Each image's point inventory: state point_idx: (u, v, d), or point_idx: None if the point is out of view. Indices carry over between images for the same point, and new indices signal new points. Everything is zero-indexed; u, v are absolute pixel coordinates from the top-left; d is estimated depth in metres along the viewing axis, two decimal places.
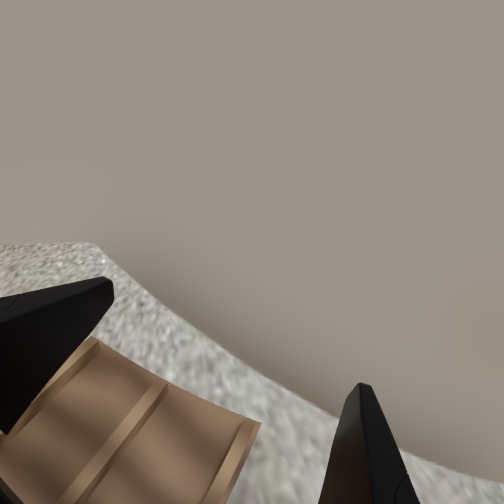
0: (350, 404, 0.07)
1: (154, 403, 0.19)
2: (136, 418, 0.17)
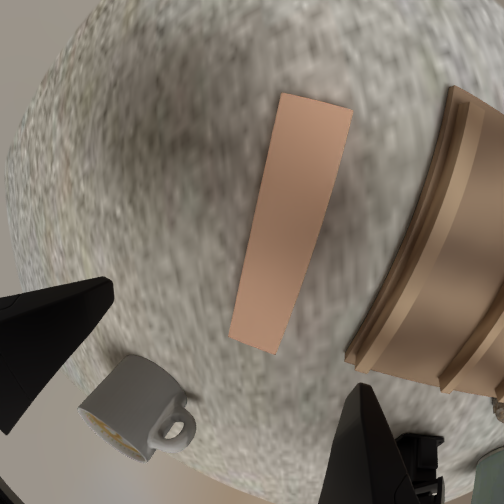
0: (350, 404, 0.07)
1: None
2: None
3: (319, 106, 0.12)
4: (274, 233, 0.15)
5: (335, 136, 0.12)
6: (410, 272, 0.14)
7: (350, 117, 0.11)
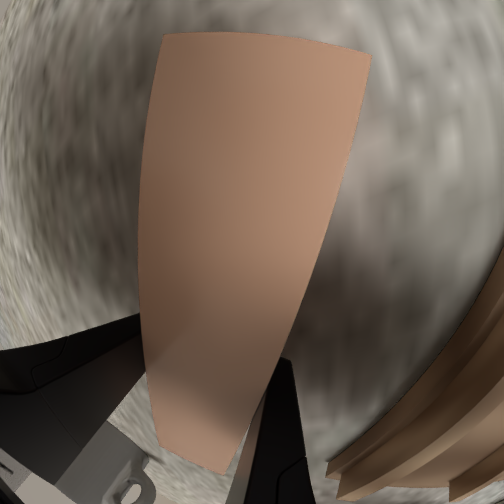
0: None
1: None
2: None
3: (261, 47, 0.03)
4: (181, 359, 0.07)
5: (314, 138, 0.04)
6: (448, 419, 0.05)
7: (363, 76, 0.03)
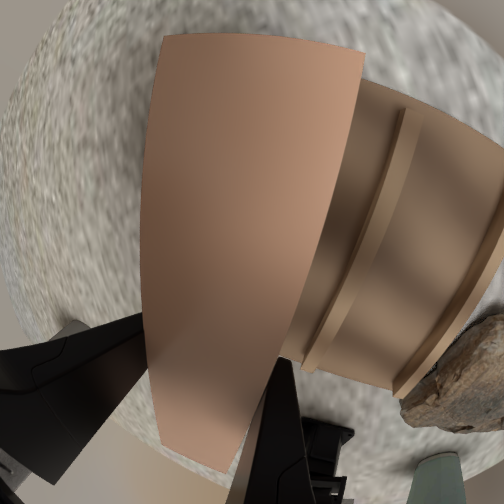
0: (269, 378, 0.07)
1: None
2: (394, 195, 0.12)
3: (259, 47, 0.04)
4: (183, 355, 0.07)
5: (310, 133, 0.04)
6: None
7: (357, 73, 0.03)
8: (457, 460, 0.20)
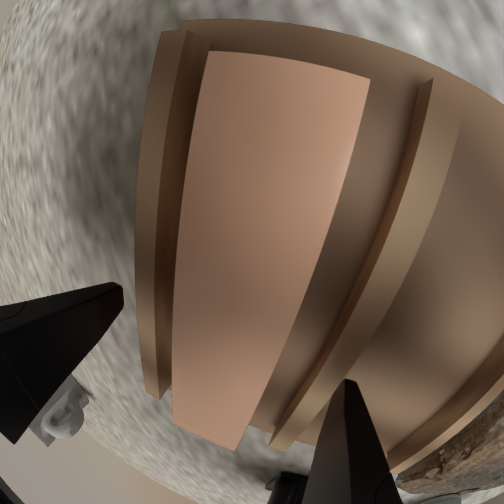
0: (335, 400, 0.07)
1: None
2: (412, 243, 0.07)
3: (290, 70, 0.05)
4: (209, 324, 0.08)
5: (327, 139, 0.05)
6: None
7: (363, 95, 0.05)
8: (458, 501, 0.14)
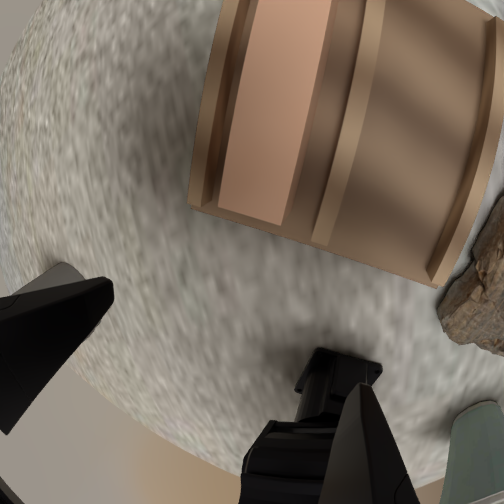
0: (350, 404, 0.07)
1: None
2: (378, 19, 0.09)
3: None
4: (271, 53, 0.11)
5: None
6: (208, 79, 0.14)
7: None
8: (499, 409, 0.17)
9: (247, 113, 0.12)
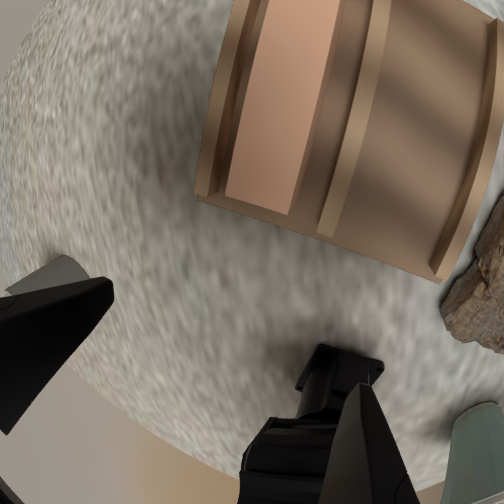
0: (350, 404, 0.07)
1: None
2: (384, 18, 0.09)
3: None
4: (281, 47, 0.11)
5: None
6: (218, 72, 0.14)
7: None
8: (500, 410, 0.17)
9: (257, 104, 0.13)
